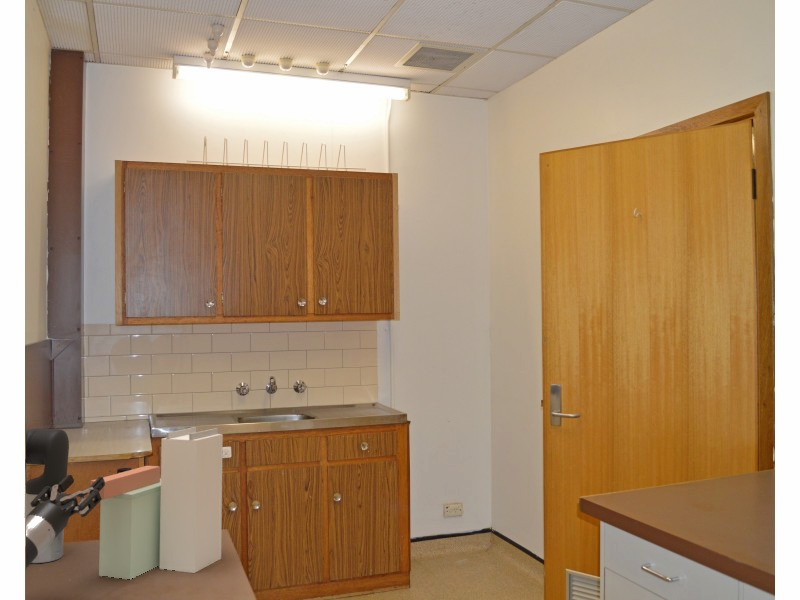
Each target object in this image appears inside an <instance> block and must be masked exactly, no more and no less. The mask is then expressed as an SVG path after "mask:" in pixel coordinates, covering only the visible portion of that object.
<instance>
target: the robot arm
mask: <svg viewBox="0 0 800 600" xmlns="http://www.w3.org/2000/svg"><path fill="white" fill-rule="evenodd" d="M25 431H26V465H36V466H37V465H38V466H41V465H42V466H43V467H44V468H43V473H42V474H41V475H39V476H37V477H34V478H30V479H29V480H27V481H26V482H25V485H26V569H27V568H28V567H29V566H30V565H31V564H40V563H41V564H42V563H48V562H53V561H56V560H59V559H61V558H63V556H64V532H65V531H64V530H65V528H67V526H68V523H69V519H70V518H71V517H72V516H74V515H75V514H79V515H80V516H81V518H85V517H86V516H87V515H88V514H89V513H90V512H91V511H93V509H94V508H96V507H97V505H98V504H99V503H101V500H102V498H101V496H100V493H99V491H100V490H101V489H102V488H103V487H104V486H105V481H104V479H103V476H98V477H97V478H96V479H97V480H96V479H95V480H96V481H95V482H94V483H93V484H92V485H91V486H90V485H89V487H88V488H86V489H84V490H78V491H76V492H73V493H65V492H66V491H67V490H68V489H69V488H70V487H71V486H72V485H73V484H74V482H75V479H74V478H73V474H68V466H69V465H68V463H69V462H68V461H69V452H70V451H69V450H70V440H69V436H68V434H67V432H66V430H63V429H60V428H59V429H58V428H32V429H28V430H25ZM86 495H88V496H87V497H85V496H86ZM78 498H79V499H80V501H78Z"/></svg>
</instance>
